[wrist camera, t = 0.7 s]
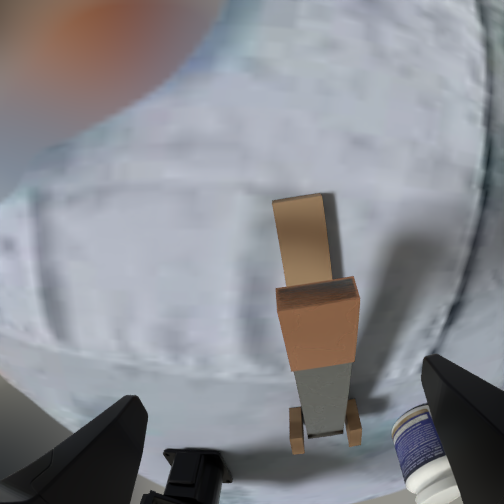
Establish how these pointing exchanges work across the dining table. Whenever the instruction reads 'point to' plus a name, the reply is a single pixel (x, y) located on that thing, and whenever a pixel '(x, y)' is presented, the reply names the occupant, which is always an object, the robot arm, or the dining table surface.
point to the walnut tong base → (307, 281)
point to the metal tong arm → (321, 348)
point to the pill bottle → (423, 458)
